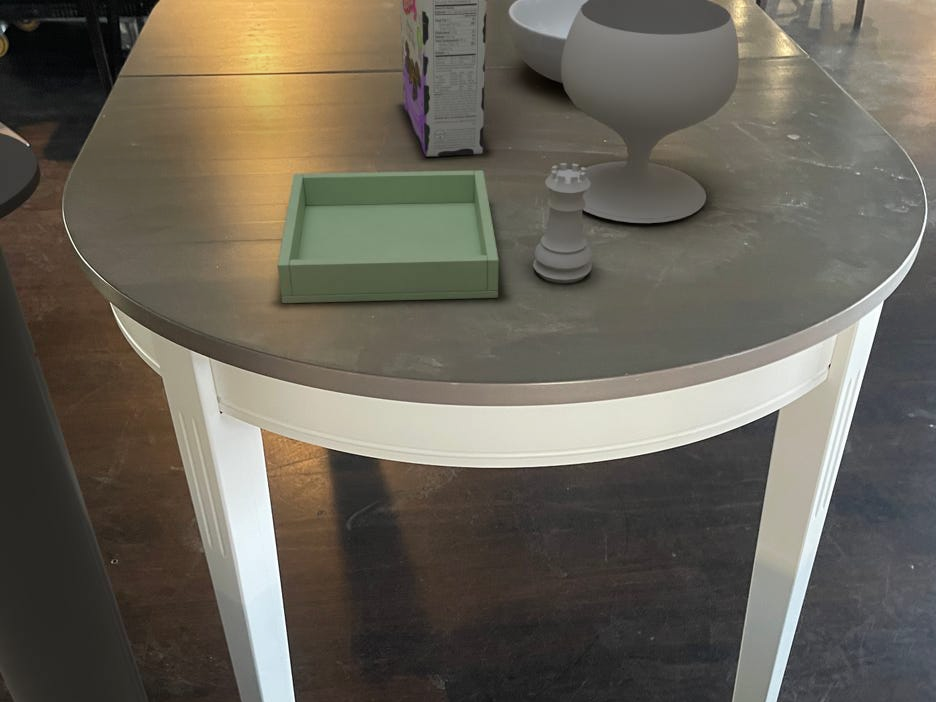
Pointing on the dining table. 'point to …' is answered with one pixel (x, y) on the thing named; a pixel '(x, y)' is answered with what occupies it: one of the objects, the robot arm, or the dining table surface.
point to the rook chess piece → (564, 228)
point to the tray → (388, 237)
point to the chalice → (648, 94)
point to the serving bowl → (542, 32)
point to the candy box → (445, 73)
